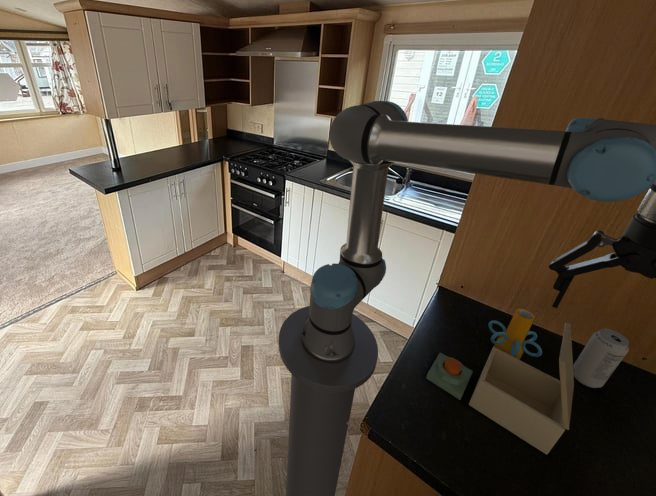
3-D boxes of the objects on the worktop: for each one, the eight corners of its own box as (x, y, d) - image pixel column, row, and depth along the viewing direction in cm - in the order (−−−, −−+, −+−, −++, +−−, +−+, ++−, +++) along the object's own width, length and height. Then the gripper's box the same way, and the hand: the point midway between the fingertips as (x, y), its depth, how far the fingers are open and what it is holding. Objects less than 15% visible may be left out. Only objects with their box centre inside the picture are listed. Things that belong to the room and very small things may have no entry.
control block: (425, 378, 79) (428, 369, 77) (438, 356, 85) (441, 347, 83) (460, 400, 74) (464, 391, 72) (471, 375, 80) (475, 366, 78)
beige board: (558, 360, 57) (564, 361, 56) (565, 322, 65) (570, 323, 64) (563, 428, 60) (568, 430, 59) (569, 384, 68) (574, 385, 68)
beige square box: (468, 404, 73) (479, 380, 69) (482, 370, 81) (493, 346, 77) (547, 455, 64) (565, 430, 60) (554, 410, 72) (570, 386, 68)
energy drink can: (586, 368, 82) (614, 326, 75) (608, 390, 76) (640, 347, 70) (563, 367, 82) (589, 326, 75) (584, 390, 76) (613, 347, 70)
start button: (441, 368, 78) (443, 364, 77) (446, 359, 80) (448, 355, 80) (457, 378, 76) (459, 373, 75) (461, 368, 78) (463, 364, 77)
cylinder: (496, 373, 80) (517, 331, 74) (472, 339, 90) (488, 300, 83) (542, 371, 81) (567, 329, 74) (513, 338, 90) (532, 299, 83)
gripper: (820, 249, 40) (715, 361, 49) (569, 190, 57) (526, 281, 67) (835, 272, 36) (718, 390, 45) (558, 201, 53) (515, 297, 62)
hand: (603, 325), depth 56 cm, fingers open, 13 cm apart
